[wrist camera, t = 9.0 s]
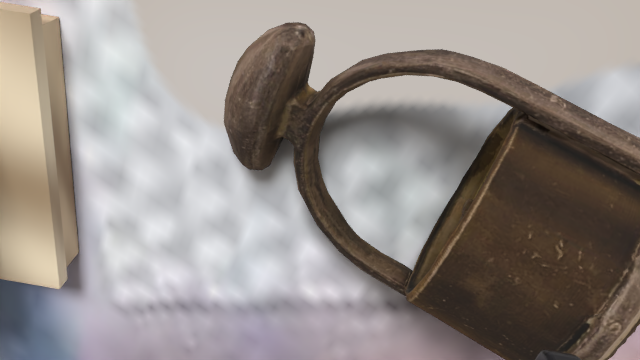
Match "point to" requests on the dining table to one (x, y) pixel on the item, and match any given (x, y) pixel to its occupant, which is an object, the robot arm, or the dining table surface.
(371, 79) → the brown looped cylinder
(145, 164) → the dining table surface
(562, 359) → the robot arm
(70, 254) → the cream slab
